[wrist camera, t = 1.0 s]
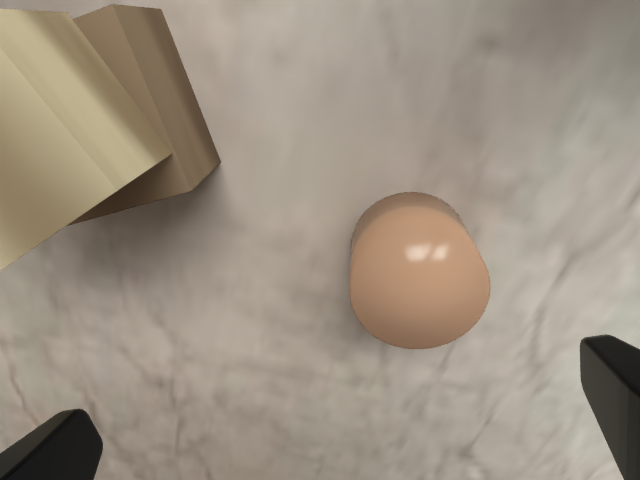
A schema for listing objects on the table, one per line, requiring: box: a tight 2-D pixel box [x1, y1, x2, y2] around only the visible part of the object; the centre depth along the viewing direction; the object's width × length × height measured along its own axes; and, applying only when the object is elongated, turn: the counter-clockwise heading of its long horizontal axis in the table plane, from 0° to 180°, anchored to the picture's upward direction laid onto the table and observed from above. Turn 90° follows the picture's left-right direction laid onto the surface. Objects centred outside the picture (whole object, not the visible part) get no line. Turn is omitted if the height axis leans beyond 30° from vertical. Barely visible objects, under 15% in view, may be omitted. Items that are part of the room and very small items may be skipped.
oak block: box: [0, 9, 172, 270], centre depth 14 cm, size 5×5×4 cm
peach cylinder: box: [350, 192, 490, 349], centre depth 19 cm, size 5×5×4 cm
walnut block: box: [66, 4, 221, 226], centre depth 17 cm, size 6×6×4 cm
